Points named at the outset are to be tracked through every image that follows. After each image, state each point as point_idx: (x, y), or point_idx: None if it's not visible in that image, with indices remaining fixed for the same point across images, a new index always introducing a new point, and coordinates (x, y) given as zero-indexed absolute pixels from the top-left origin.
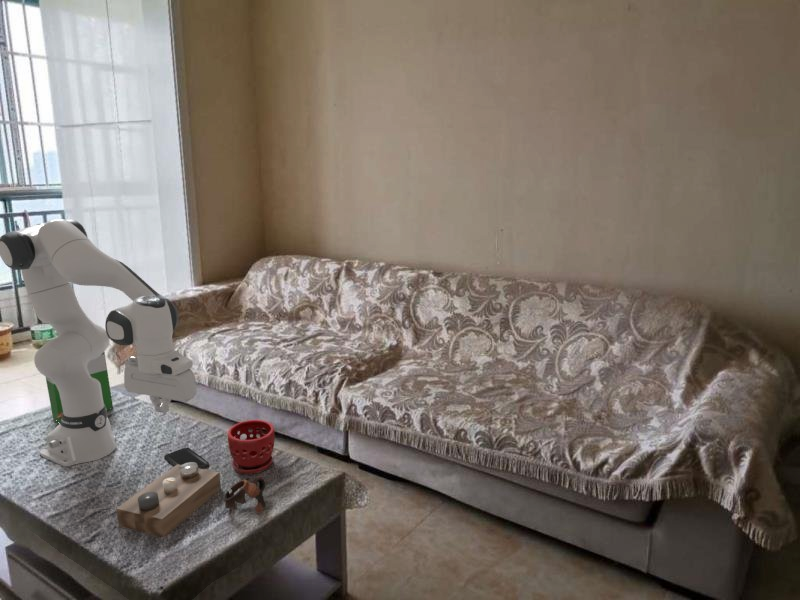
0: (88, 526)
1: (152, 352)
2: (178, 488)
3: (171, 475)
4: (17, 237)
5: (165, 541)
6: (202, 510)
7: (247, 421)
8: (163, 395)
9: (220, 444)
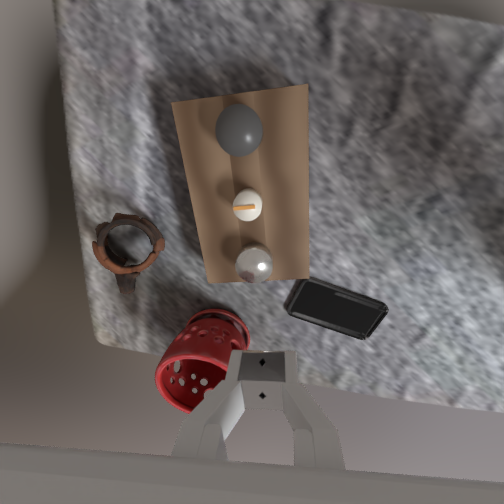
0: (370, 58)
1: None
2: None
3: (288, 243)
4: None
5: (175, 99)
6: None
7: None
8: (135, 491)
9: (316, 361)
